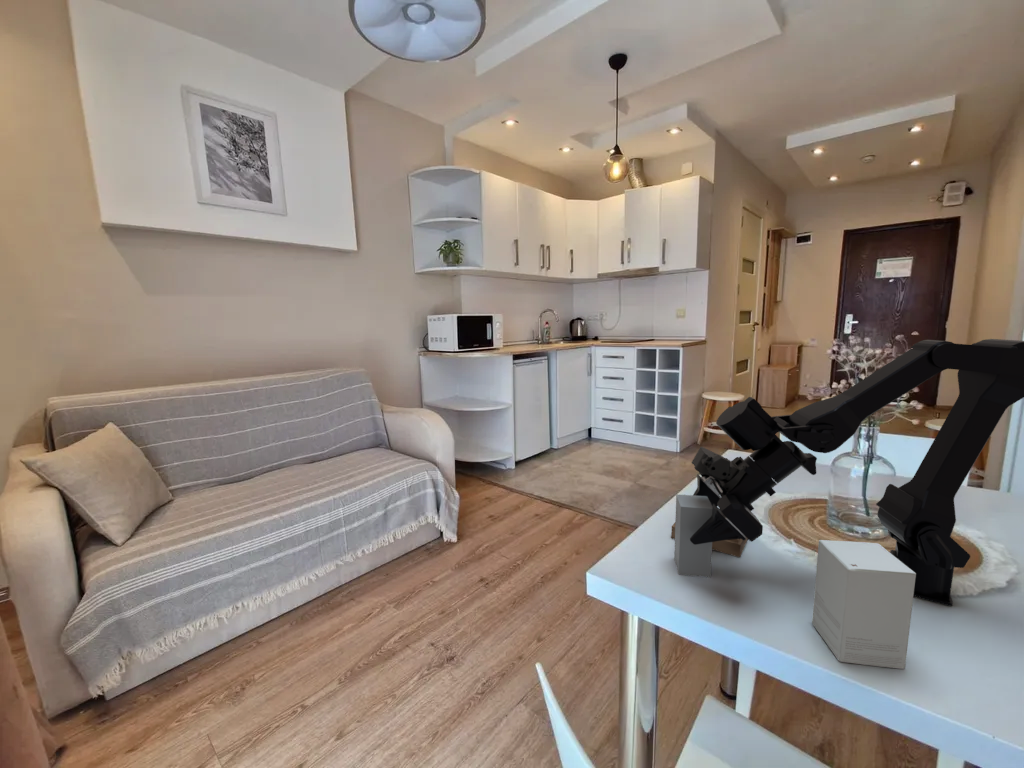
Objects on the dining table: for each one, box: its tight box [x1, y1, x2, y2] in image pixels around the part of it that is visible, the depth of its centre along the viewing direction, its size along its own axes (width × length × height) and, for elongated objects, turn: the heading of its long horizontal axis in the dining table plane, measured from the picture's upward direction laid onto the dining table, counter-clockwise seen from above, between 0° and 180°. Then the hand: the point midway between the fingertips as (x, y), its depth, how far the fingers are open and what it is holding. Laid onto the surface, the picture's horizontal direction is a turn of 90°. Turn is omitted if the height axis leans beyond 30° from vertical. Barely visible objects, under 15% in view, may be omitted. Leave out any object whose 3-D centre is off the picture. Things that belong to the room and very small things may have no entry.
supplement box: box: [811, 539, 916, 670], centre depth 55 cm, size 7×7×13 cm
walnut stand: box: [670, 522, 749, 558], centre depth 85 cm, size 12×12×3 cm
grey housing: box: [673, 494, 713, 578], centre depth 73 cm, size 5×5×12 cm
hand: (686, 528), depth 73 cm, fingers open, 9 cm apart
